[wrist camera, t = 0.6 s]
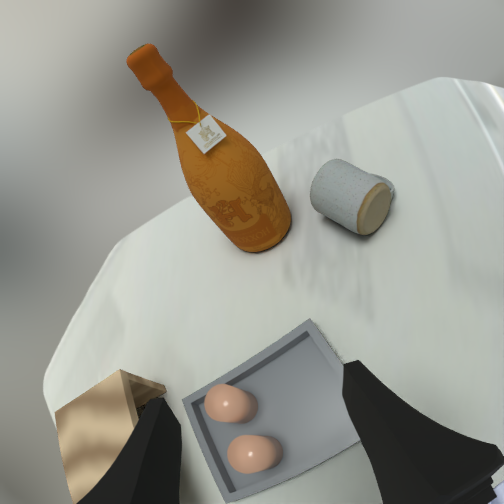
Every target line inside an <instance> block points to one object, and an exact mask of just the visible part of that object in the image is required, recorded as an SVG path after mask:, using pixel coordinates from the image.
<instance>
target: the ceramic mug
mask: <svg viewBox="0 0 504 504" xmlns="http://www.w3.org/2000/svg"><path fill="white" fill-rule="evenodd" d="M393 194H394V185H393V184H392V183H391V182H390V181H389V180H388V179H386V178H384V177H382V176H379V175H375V174H369V173H367V172H365V171H363V170H361V169H359V168H358V167H356V166H354V165H352V164H350V163H348V162H346V161H343V160H340V159H334V160H330V161H328V162H327V163H326V164H324V165H323V166H322V167H321V168H320V170H319V171H318V172H317V174H316V176H315V177H314V180H313V182H312V186H311V191H310V199H311V204H312V206H313V207H314V209H315V210H316V211H317V212H319V213H321V214H323V215H325V216H326V217H328V218H330V219H332V220H333V221H335V222H337V223H339V224H341V225H343V226H344V227H346V228H347V229H349V230H351V231H353V232H355V233H358V234H361V235H368V234H370V233H372V232H374V231H375V230H376V229H378V228H379V226H380V225H381V224H382V222H383V221H384V219H385V218H386V215H387V213H388V211H389V208H390V203H391V199H392V198H393Z"/></svg>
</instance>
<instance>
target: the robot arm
mask: <svg viewBox="0 0 504 504" xmlns="http://www.w3.org/2000/svg"><path fill="white" fill-rule="evenodd" d="M342 396H343V399H344V403H345V406H346V409H347V411H348V414H349V417H350V419H351V421H352V423H353V425H354V427H355V430H356V432H357V434H358V436H359V438H360V440H361V442H362V444H363V446H364V448H365V450H366V453H367V455H368V457H369V459H370V462H371V464H372V467H373V470H374V473H375V477H376V480H377V483H378V486H379V490H380V493H381V497H382V500H383V504H504V481H502V482H501V483H500V484H498V485H497V486H496V487H495V488H492V486H491V484H492V483H493V480H492V478H491V476H492V475H493V474H494V473H495V472H496V471H497V470H499V469H500V468H501V467H502V466H503V465H504V456H503V454H502V453H501V451H500V450H499V449H498V447H497V446H496V445H494V444H490V443H486V442H482V441H479V440H476V439H473V438H470V437H467V436H465V435H462V434H460V433H457V432H455V431H453V430H451V429H449V428H446V427H444V426H442V425H440V424H439V423H437V422H435V421H433V420H431V419H430V418H428V417H426V416H425V415H423V414H422V413H420V412H419V411H417V410H416V409H414V408H413V407H411V406H410V405H409V404H407V403H406V402H405V401H403V400H402V399H401V398H400V397H398V396H397V395H396V394H395V393H394V392H392V391H391V390H390V389H389V388H388V387H386V386H385V385H384V384H383V383H382V382H381V381H380V380H379V379H378V378H377V377H376V376H374V375H373V374H372V373H371V372H370V371H369V370H368V369H367V368H366V367H365V366H364V365H363V364H362V363H361V361H359V360H356V361H353V362H349V363H346V364H344V367H343V387H342ZM181 452H182V439H181V425H180V423H179V422H178V420H177V418H176V417H175V415H174V414H173V412H172V411H171V409H170V407H169V406H168V404H167V403H166V401H165V399H164V398H156V399H150V400H149V401H148V403H147V405H146V407H145V409H144V411H143V413H142V415H141V417H140V418H139V420H138V422H137V424H136V426H135V428H134V430H133V431H132V433H131V435H130V437H129V438H128V440H127V442H126V444H125V445H124V447H123V448H122V450H121V452H120V453H119V455H118V456H117V458H116V459H115V461H114V462H113V464H112V465H111V467H110V468H109V469H108V470H107V472H106V473H105V474H104V476H103V477H102V478H101V479H100V480H99V481H98V483H97V484H96V485H95V486H94V487H93V488H92V489H91V490H90V491H89V492H88V493H87V494H86V495H85V496H84V497H83V498H82V499H81V500H80V501H79V502H77V503H76V504H179V482H180V466H181Z"/></svg>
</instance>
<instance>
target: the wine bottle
mask: <svg viewBox="0 0 504 504" xmlns="http://www.w3.org/2000/svg"><path fill="white" fill-rule="evenodd" d="M127 65H128V67H129V68H130V69H131V70H132V71H133V72H134V74H135V75H136V77H137V78H138V80H139V81H140V83H141V85H142V86H143V88H144V89H146V90H149V91H151V92H152V93H153V95H154V96H155V97H156V98H157V99H158V100H159V102H160V104H161V105H162V107H163V109H164V111H165V113H166V115H167V117H168V120H169V121H170V123H171V125H172V128H173V131H174V135H175V139H176V144H177V148H178V153H179V158H180V163H181V167H182V170H183V174H184V177H185V180H186V182H187V185H188V187H189V189H190V191H191V193H192V195H193V196H194V198H195V199H196V201H197V202H198V203H199V205H200V206H201V207H202V209H203V210H204V211H205V212H206V213H207V215H208V216H209V217H210V218H211V219H212V220H213V222H214V223H215V224H216V225H217V226H218V227H219V228H220V229H221V231H222V232H223V233H224V234H225V235H226V236H227V237H228V238H229V239H230V240H231V241H232V242H233V243H234V244H235V245H236V246H237V247H238V248H240V249H242V250H244V251H248V252H259V251H263V250H266V249H268V248H270V247H272V246H274V245H275V244H277V243H278V242H279V241H280V240H281V239H282V238H283V237H284V236H285V234H286V233H287V231H288V229H289V226H290V222H291V214H290V210H289V207H288V205H287V203H286V201H285V199H284V196H283V194H282V192H281V190H280V188H279V186H278V184H277V182H276V181H275V179H274V177H273V175H272V173H271V171H270V169H269V168H268V166H267V164H266V162H265V161H264V159H263V158H262V156H261V155H260V153H259V152H258V151H257V149H256V148H255V147H254V146H253V145H252V144H251V143H250V142H249V141H248V140H247V139H246V138H244V137H243V136H242V135H241V134H239V133H238V132H236V131H235V130H234V129H232V128H231V127H229V126H228V125H226V124H224V123H223V122H221V121H219V120H218V119H216V118H215V117H213V116H211V115H210V114H208V113H207V112H205V111H204V110H202V109H201V108H200V107H199V106H198V105H196V103H195V102H194V101H193V100H191V99H190V98H189V97H188V95H187V94H186V93H185V92H184V91H183V89H182V88H181V87H180V86H179V85H178V83H177V82H176V81H175V79H174V78H173V76H172V74H173V71H172V69H171V67H170V66H169V65H168V64H167V63H166V62H165V61H164V60H163V58H162V57H161V56H160V54H159V52H158V50H157V48H156V47H155V46H154V45H152V44H145V45H143V46H141V47H139V48H137V49H136V50H134V51H133V52H132V53H131V54H130V55H129V56H128V58H127Z"/></svg>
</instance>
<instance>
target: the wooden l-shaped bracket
mask: <svg viewBox="0 0 504 504" xmlns="http://www.w3.org/2000/svg"><path fill="white" fill-rule="evenodd" d="M165 392H166V389H165V386H164V385H161V384H159V383H156V382H153V381H150V380H147V379H144V378H142V377H139V376H136V375H133V374H131V373H128V372H126V371H123V370H121V369H119V370H118V371H116V372H115V373H113V374H112V375H110V376H109V377H107V378H106V379H104V380H103V381H101V382H100V383H98V384H97V385H95V386H94V387H92V388H91V389H89V390H88V391H86V392H85V393H83V394H82V395H80V396H79V397H77V398H76V399H74V400H73V401H71V402H70V403H68V404H66V405H65V406H63V407H62V408H60V409H59V410H57V411H56V412H55V418H56V426H57V433H58V439H59V445H60V451H61V456H62V461H63V466H64V470H65V474H66V478H67V483H68V487H69V490H70V494H71V498H72V501H73V504H76V503H77V502H79V501H80V500H81V499H82V498H83V497H84V496H85V495H86V494H87V493H88V492H89V491H90V490H91V489H92V488H93V487H94V486H95V485H96V484H97V483H98V481H99V480H100V479H101V478H102V477H103V476H104V474H105V473H106V472H107V470H108V469H109V468H110V467H111V465H112V464H113V462H114V461H115V459H116V458H117V456H118V455H119V453H120V452H121V450H122V448H123V447H124V445H125V444H126V442H127V440H128V438H129V437H130V435H131V433H132V431H133V430H134V428H135V426H136V424H137V422H138V420H139V419H138V415H137V411H136V409H137V408H139V407H140V406H142V405H144V404H146V403H148V401H149V400H150V399H155V398H156V397H158V396H160V395H162V394H163V393H165Z"/></svg>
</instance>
